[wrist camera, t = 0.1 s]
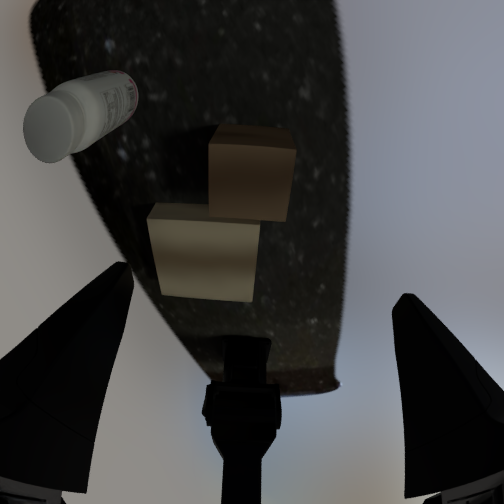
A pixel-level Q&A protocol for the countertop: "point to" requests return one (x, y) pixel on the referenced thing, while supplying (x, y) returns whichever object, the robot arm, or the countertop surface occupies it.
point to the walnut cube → (250, 172)
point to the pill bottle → (78, 114)
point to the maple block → (203, 252)
